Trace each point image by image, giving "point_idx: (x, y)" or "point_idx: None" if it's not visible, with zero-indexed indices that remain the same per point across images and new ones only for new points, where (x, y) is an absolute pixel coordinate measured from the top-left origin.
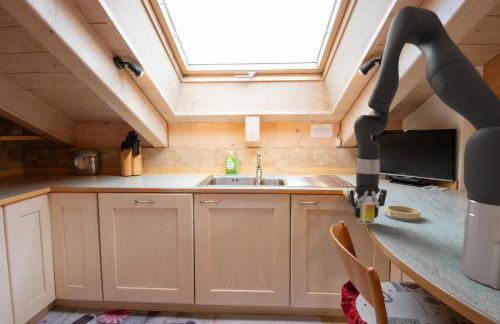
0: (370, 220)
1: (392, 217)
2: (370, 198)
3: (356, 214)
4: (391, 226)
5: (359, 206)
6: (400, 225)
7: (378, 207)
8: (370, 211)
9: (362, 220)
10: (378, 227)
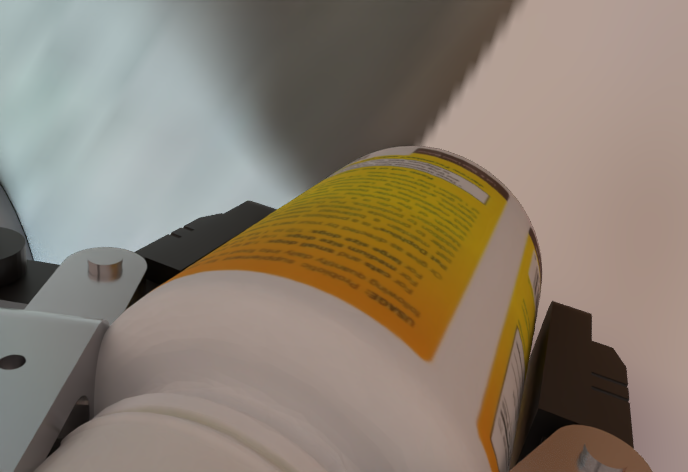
0: (420, 160)
1: None
2: (156, 448)
3: (606, 370)
4: (184, 2)
5: (559, 451)
6: (59, 4)
7: (112, 248)
8: (371, 213)
9: (527, 241)
10: (388, 19)
